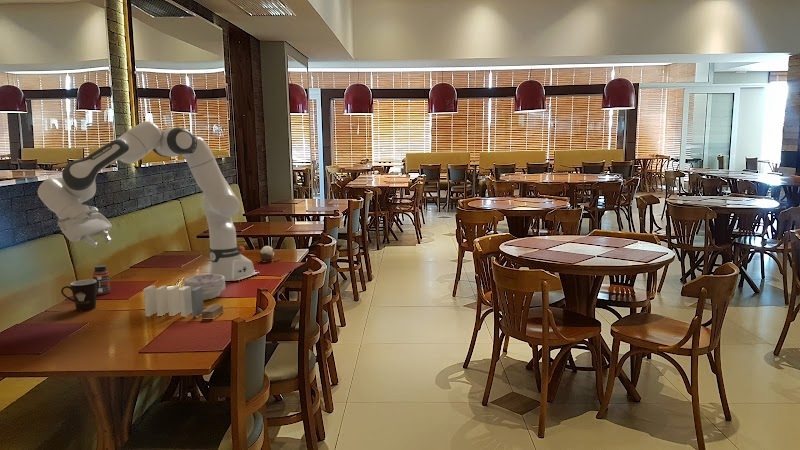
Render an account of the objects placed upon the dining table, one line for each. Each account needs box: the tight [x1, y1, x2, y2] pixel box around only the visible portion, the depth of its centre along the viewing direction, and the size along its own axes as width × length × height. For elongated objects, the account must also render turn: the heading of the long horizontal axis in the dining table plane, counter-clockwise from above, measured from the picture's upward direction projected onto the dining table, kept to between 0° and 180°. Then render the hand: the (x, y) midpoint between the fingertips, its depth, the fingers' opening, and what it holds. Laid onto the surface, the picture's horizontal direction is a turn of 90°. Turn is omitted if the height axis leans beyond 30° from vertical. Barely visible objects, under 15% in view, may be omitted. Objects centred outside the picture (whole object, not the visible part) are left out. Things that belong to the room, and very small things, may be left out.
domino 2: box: [155, 285, 169, 318], centre depth 213 cm, size 2×5×10 cm, turn 171°
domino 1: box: [142, 285, 157, 317], centre depth 213 cm, size 2×5×10 cm, turn 171°
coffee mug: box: [61, 279, 97, 312], centre depth 222 cm, size 12×9×10 cm
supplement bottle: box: [92, 264, 111, 296], centre depth 243 cm, size 6×6×11 cm
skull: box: [259, 245, 281, 261], centre depth 300 cm, size 12×10×10 cm
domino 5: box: [191, 287, 205, 318], centre depth 211 cm, size 2×5×10 cm, turn 171°
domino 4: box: [179, 286, 193, 317], centre depth 211 cm, size 2×5×10 cm, turn 171°
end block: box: [201, 304, 224, 319], centre depth 210 cm, size 4×8×3 cm, turn 171°
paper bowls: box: [183, 273, 226, 301], centre depth 234 cm, size 15×15×8 cm
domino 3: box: [167, 285, 181, 317], centre depth 212 cm, size 2×5×10 cm, turn 171°
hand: (103, 243), depth 213 cm, fingers open, 6 cm apart
